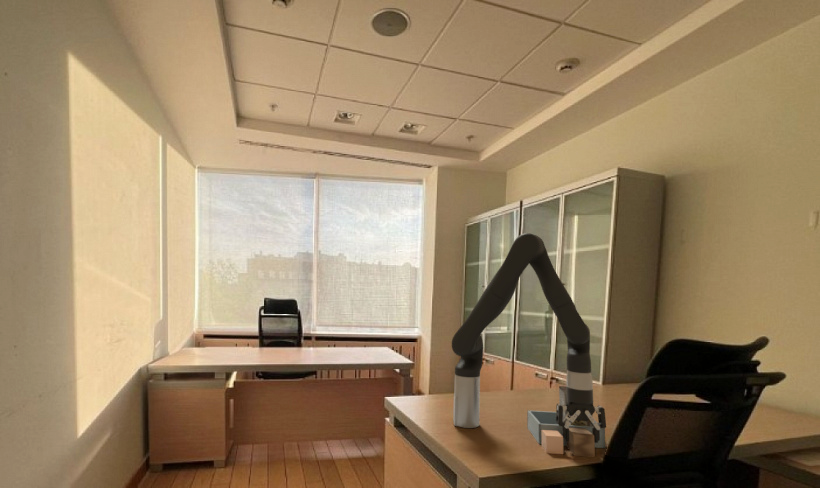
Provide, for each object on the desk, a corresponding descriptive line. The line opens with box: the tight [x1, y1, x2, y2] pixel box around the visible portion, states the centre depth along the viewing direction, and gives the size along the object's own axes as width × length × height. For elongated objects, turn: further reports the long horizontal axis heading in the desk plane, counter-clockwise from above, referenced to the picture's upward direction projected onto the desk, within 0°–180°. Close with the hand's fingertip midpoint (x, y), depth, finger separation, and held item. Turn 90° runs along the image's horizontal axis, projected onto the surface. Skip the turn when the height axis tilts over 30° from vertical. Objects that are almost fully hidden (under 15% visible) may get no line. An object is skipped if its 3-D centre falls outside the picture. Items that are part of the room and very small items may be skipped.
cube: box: [541, 430, 564, 455], centre depth 115 cm, size 5×5×5 cm
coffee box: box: [558, 385, 593, 427], centre depth 127 cm, size 9×6×16 cm
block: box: [566, 428, 596, 458], centre depth 115 cm, size 6×6×6 cm
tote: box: [526, 410, 606, 449], centre depth 126 cm, size 21×15×6 cm
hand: (581, 441), depth 115 cm, fingers open, 8 cm apart
